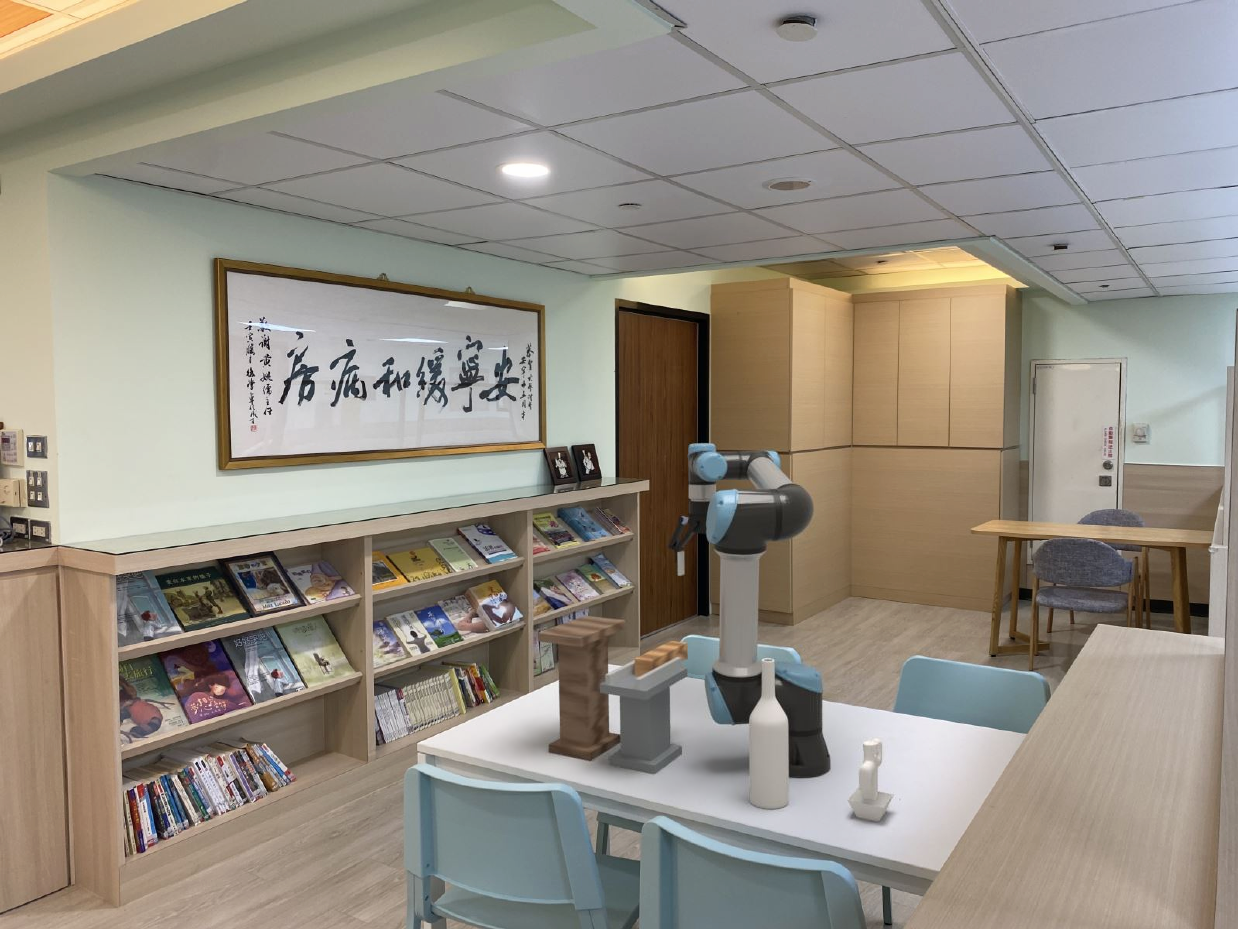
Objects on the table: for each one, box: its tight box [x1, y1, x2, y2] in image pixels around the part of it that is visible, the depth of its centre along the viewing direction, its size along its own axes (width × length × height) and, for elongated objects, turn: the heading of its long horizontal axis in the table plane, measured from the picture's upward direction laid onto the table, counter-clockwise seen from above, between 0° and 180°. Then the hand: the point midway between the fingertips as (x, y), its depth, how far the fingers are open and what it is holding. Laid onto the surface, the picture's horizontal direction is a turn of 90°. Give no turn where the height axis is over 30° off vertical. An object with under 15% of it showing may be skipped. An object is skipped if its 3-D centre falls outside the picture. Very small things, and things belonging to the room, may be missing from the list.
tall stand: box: [537, 615, 627, 762], centre depth 222 cm, size 21×12×30 cm, turn 150°
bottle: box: [748, 657, 790, 810], centre depth 189 cm, size 8×8×30 cm
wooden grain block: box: [634, 640, 689, 676], centre depth 221 cm, size 19×5×4 cm, turn 150°
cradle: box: [600, 657, 688, 775], centre depth 214 cm, size 21×12×22 cm, turn 150°
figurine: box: [847, 737, 894, 823], centre depth 182 cm, size 7×9×15 cm
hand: (703, 576), depth 250 cm, fingers open, 13 cm apart
